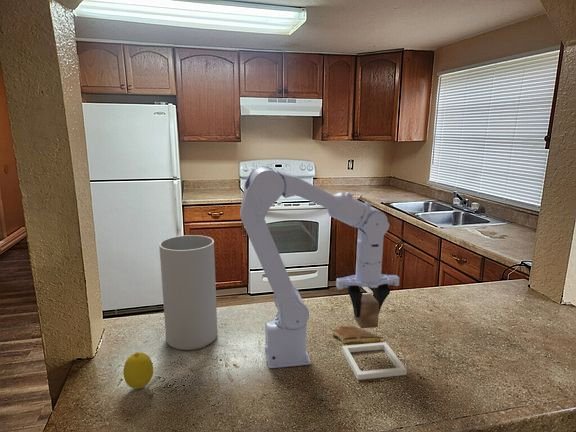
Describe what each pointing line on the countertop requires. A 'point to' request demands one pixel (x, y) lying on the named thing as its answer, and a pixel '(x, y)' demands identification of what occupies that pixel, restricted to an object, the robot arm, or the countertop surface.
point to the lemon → (138, 370)
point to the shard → (354, 334)
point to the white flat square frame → (373, 373)
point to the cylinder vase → (189, 291)
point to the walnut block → (368, 312)
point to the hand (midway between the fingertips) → (365, 314)
